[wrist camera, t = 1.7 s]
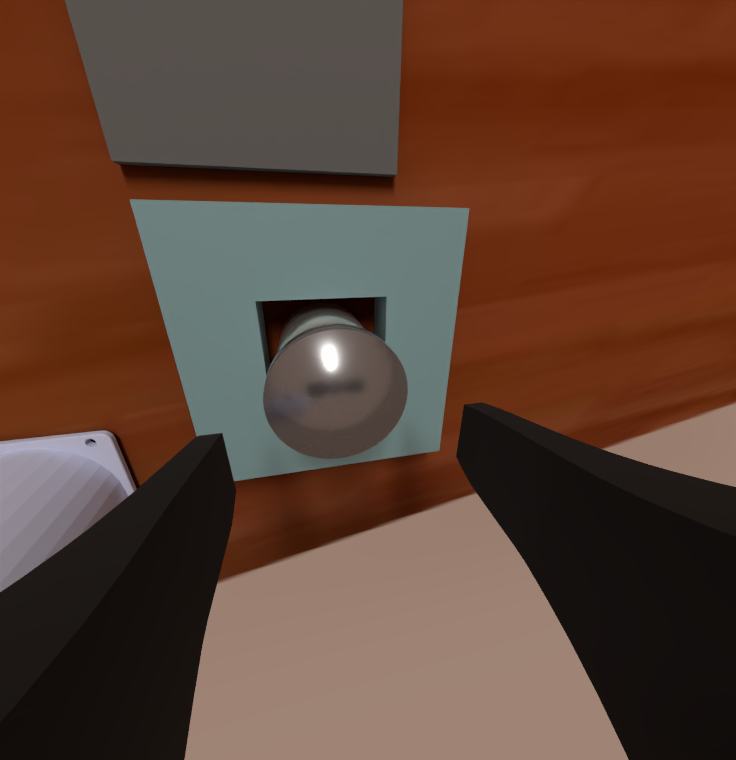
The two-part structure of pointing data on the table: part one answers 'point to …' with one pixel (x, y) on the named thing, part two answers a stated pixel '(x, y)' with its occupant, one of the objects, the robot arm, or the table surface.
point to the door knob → (332, 384)
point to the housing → (299, 282)
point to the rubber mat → (246, 82)
